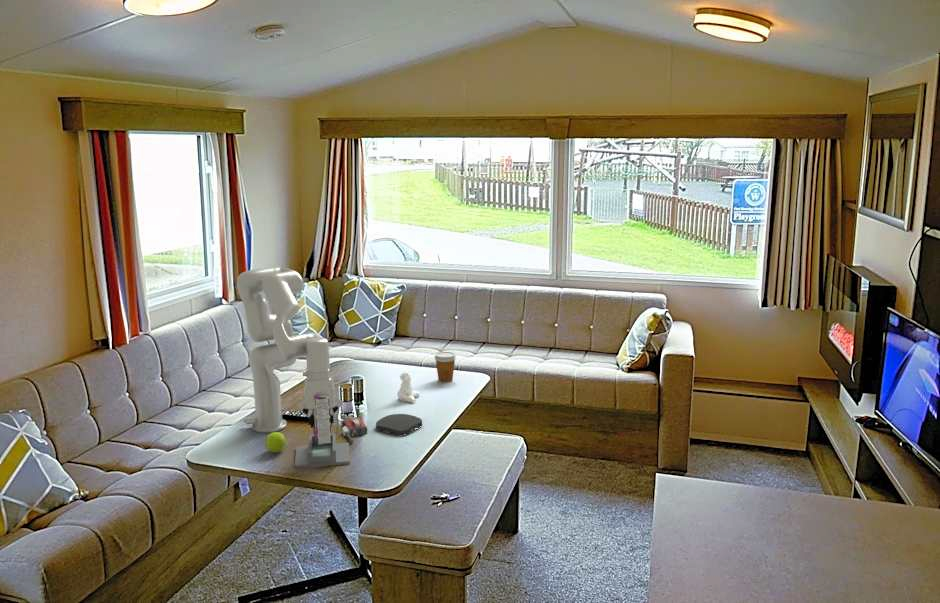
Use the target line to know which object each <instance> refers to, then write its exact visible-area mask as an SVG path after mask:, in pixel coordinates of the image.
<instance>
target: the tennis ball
mask: <svg viewBox="0 0 940 603" xmlns="http://www.w3.org/2000/svg"><path fill="white" fill-rule="evenodd" d="M286 443H287V441H286V437H285V436H284V434H283V433H281V432H279V431H276V432H270V433H269V434H268V435H267V436H266V437H265V439H264V445H265V448H266V449H267V451H268V452H271V453H280V452H282V450H284V449H285V447H286V445H287V444H286Z"/></svg>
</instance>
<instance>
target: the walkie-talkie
mask: <svg viewBox="0 0 940 603" xmlns="http://www.w3.org/2000/svg"><path fill="white" fill-rule="evenodd" d="M341 425H342V426H343V427H342V428H341V433H342V435H343V437H344V436H346V437H347V438H348V440H349V442H351V443H354V441H355V440H354V439H353V438H352V437H355V436H361V435H363V436H364V435H366V434H368V426H367V425H366V423H364V422H363V420H362V419H361V417H358V416H353V417H346V418H344V420H343V421H341ZM360 434H361V435H360ZM350 435H351V436H350ZM354 435H355V436H354Z"/></svg>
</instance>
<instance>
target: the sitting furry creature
mask: <svg viewBox="0 0 940 603" xmlns="http://www.w3.org/2000/svg"><path fill="white" fill-rule="evenodd" d="M399 377H400V380H401V381H402V382H401V384H400V387H399V389H398V391H397V395H396V396H397V397H398V399H399V400H400V401H403V402H405V401H407V402H406V403H410V402H411V403H410V404H415V403H416V401H417V399H416V398H420V392H419V391H417V390H413V388H412V384H411V381H412V379H411V375H410V374H409V371H403V372H402V373H400V375H399ZM414 397H415V398H414ZM414 402H415V403H414Z"/></svg>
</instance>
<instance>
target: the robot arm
mask: <svg viewBox="0 0 940 603" xmlns="http://www.w3.org/2000/svg"><path fill="white" fill-rule="evenodd" d="M304 284H305V283H304V280H303V277H302V275H301V273H299V272H298V271H296V270H294V269H291V268H288V267H283V266H272V267H270V266H269V267H264V268H255V269H250V270H246V271H244V272H241V273H240V274H239V276H237V280H236V288H237V291H238V294H239V297H240V300H241V301H242V304H243V307H244V313H245V319H246V325H247V329H248V334H249V338H250V340H251V341H252V342H255V343H262V342H269V341H274V342H275V343H268V344H263V345H260V346H256V347H254V348H253V349H251V350H250V352H249V355H248V362H249V366H250V369H251V373H252V375H251V376H252V382H253V394H254V395H253V396H254V408H255V409H254V410H255V415H252V417H248V416H247V417H243V423H246V425H251V428H252V430H253V431H254V432H257V433H260V434H261V433H262V434H265V433H266V434H267V433H269V434H270V433H273V432H279V431H282V430H284V429H285V428H286V427H288V426H287V425H288V424H287V420H286V419H284V418H283V412H282V411H283V410H282V394H281V392H282V391H281V381H280V379H279V377H278V376H277V375H276V374H275V372H274V371H275V370H277V369H282V368H286V367H290V366H292V365H294V364H295V363H296V362H297V359H298V358H303V357H306V360H305V361H306V370H305V371H303V372H302V377H306V378H305V380H304V385H303V386H304V388H303V391H304V392H303V394H304V397H303V398H302V399H301V401H300V402H299V403H298V404H297V406H296V407H297V409H299V410H300V411H302V413H304V414H305V415H306V417H307V418H308V426H310V428H311V429H313V414H312V411H313V409H314V396H318V395H328V396H329V405H330V422H331V428H332V424H334V414H335V413H336V412H337V411H338V410H339V409H340V408H341V407H342V406H343V405H344V401H343V400H341V399H340V397H338V396H337V395H336V391H335V390H336V389H335V383H334V378H333V377H332V376H331V365H330V364H331V362H330V344H329V341H328V339H327V338H325V337H321V336H320V334H318V333H315V332H307V333H300V334H294V328H293V325H292V321H291V320H292V319H293V318H294V317H295V316H296V315H297V314H298V313H299V311H300V309H301V308H300V304H299V303H298V300H297V299H296V297H295V295H298V294H300V293H302V291H303V290H304V286H305V285H304ZM261 293H264V294H265V297H266V298H265V297H264V295H262V294H261ZM269 304H270V306H271V308H272V310H273V312H274V313H271V312H270V307H269Z"/></svg>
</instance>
